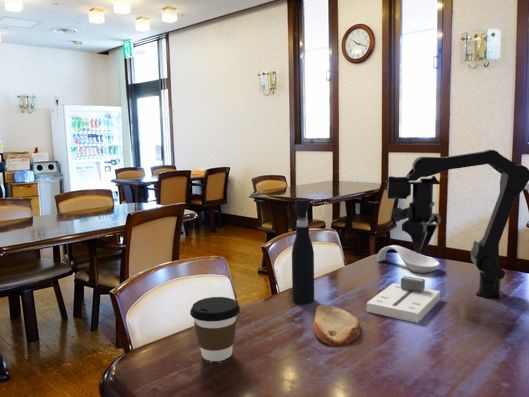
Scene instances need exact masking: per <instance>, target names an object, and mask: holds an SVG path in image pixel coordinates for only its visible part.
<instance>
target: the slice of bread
mask: <svg viewBox="0 0 529 397" xmlns="http://www.w3.org/2000/svg"><path fill="white" fill-rule="evenodd" d="M312 330H313V332H314V333H315V336H316V337H317V338H318V339H319V340H320V341H321V342H323V343H324V344H325V345H329V346H331V347H334V348H336V347H337V348H339V347H344V346H349V345H351V343H352V342H354V341H355V340H357V339H358V338H359V337H360V335H361V329H360V321H359V319H358V318H357V317H356V316H353V315H352V314H351V313H350V312H349V311H347V310H345V309H343V308H342V309H341V307H340V308H339V307H336V306H332V305H325V304H321V305H320V304H319V305H318V306H317V307H316V309H315V313H314V318H313V324H312Z"/></svg>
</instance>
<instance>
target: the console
mask: <svg viewBox="0 0 529 397" xmlns="http://www.w3.org/2000/svg"><path fill="white" fill-rule="evenodd" d="M440 300H441V291H440V290H435V289H430V288H429V289H428V288H425V289H424V290H423V291H422V292H417V291H412V290H406V289H401V283H400V284H399V283H395V282H393V283H391V284H390V285H389V286H387V287H386V288H384V289H383V290H382V291H381V292H379V293H378V294H377V295H375V296H373V297H372V298H371V299H370V300H368V301H367V302H366V310H365V311H366V312H367V313H370V314H375V315H376V314H377V315H381V316H385V317H390V318H394V319H398V320H403V321H407V322H411V323H417V324H418V323H419V322H420V321H421V320H423V318H424V317H425V316H426V315H427V314H428V313H429V312H430V311H431V310H432V309H433V308H434V306H436V304H437V303H438V302H439V301H440Z"/></svg>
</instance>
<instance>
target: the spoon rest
mask: <svg viewBox="0 0 529 397" xmlns="http://www.w3.org/2000/svg"><path fill="white" fill-rule="evenodd" d="M389 250H393V251H396V252H397V254H398V255H399V256H400V258H401V260H402V261H403V263H404V265H405V266H406V267H407V268H408V269H409V270H410V271H411V270H412V271H411V272H413V271H414V273H417V272H418V274H426V273H427V272H428V273H431V272H433V271H435V270H437V268H438V267H439V266H440V261H438V260H436V259H434V258H433V257H431V256H427V255H423V254H421V253H416V252H415V250H411V249H409V248H406V247H403V246H400V245H396V244H392V245H388V246H384V247H383V248H381V249H380V250H379V251H378V254H377V255H376V259H375V260H376V262H378V263H380V262H384V261H385V260H386V255H387V251H389ZM383 260H384V261H383Z"/></svg>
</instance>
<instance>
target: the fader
mask: <svg viewBox="0 0 529 397" xmlns="http://www.w3.org/2000/svg"><path fill="white" fill-rule="evenodd" d="M400 284H401V289H406V290H412V291H417V292H422V291H423V290H424V289H426V286H425V284H426V279H424V278H419V277H412V276H406V275H404V276H403V277H401V279H400Z"/></svg>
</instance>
